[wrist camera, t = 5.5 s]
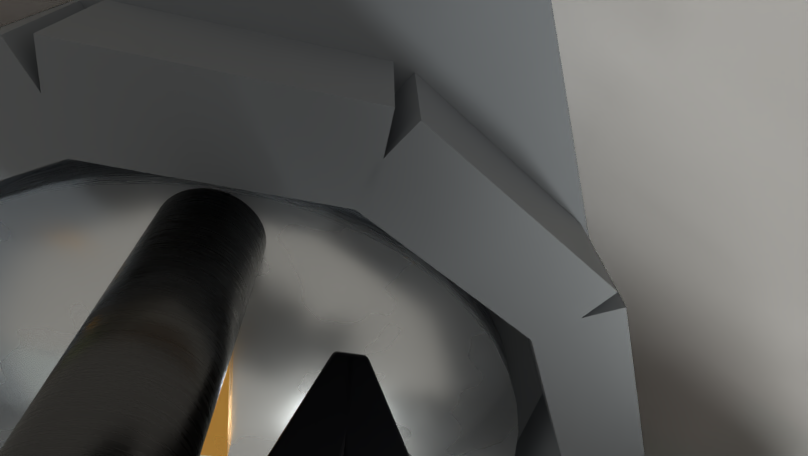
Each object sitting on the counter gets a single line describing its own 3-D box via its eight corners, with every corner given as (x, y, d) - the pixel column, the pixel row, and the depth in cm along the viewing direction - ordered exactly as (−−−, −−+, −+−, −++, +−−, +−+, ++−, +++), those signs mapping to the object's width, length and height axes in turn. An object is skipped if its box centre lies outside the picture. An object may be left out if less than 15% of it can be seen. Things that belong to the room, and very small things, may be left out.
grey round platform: (620, 492, 22) (667, 616, 18) (124, 589, 25) (80, 711, 21) (508, -161, 10) (573, -175, 7) (-389, 170, 13) (-672, 282, 10)
